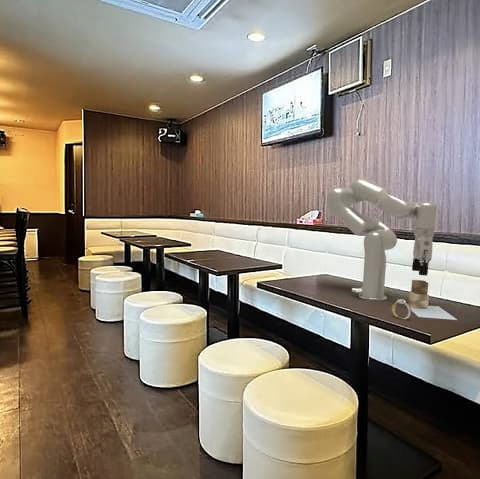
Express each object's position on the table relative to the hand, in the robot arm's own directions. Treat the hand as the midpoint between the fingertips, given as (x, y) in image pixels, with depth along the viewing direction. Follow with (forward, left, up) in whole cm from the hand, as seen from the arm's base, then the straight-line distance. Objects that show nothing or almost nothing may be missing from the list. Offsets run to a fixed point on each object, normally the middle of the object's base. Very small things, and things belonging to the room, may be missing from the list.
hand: (419, 272), depth 166 cm
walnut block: (0, 0, -9) cm, 8 cm away
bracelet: (-11, -20, -16) cm, 28 cm away
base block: (+1, 0, -15) cm, 14 cm away
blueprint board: (+3, -7, -15) cm, 17 cm away
